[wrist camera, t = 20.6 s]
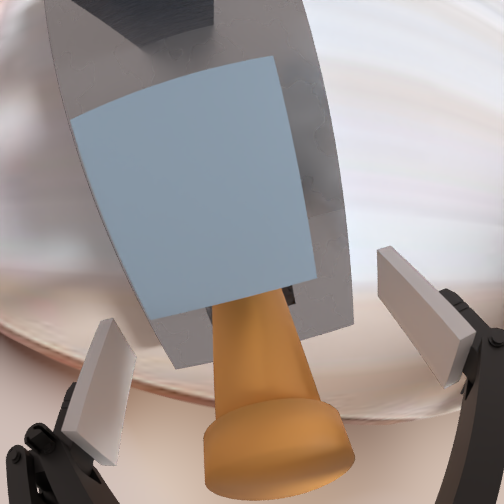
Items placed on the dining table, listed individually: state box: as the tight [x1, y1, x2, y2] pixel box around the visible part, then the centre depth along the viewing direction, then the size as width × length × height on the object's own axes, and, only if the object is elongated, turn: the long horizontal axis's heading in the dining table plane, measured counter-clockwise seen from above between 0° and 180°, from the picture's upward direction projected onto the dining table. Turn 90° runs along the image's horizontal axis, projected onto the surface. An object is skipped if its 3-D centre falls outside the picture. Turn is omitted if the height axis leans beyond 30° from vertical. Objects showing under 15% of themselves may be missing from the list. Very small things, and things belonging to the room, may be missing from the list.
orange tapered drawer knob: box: [203, 288, 355, 501], centre depth 13 cm, size 4×4×14 cm
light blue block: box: [70, 56, 317, 320], centre depth 10 cm, size 6×5×7 cm
